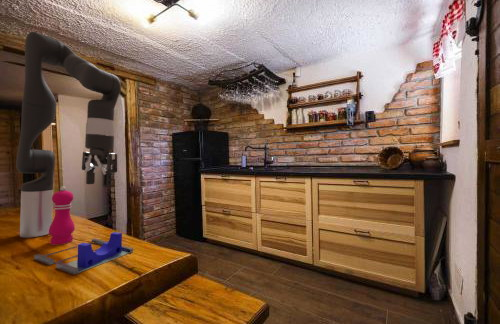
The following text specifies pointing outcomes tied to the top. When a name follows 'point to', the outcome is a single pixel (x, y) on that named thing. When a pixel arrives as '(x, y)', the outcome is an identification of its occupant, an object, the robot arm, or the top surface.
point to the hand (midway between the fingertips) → (98, 185)
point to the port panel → (73, 266)
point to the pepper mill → (62, 218)
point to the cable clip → (99, 251)
